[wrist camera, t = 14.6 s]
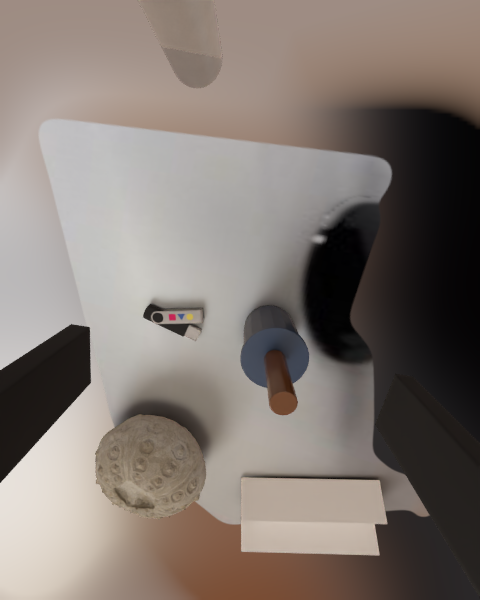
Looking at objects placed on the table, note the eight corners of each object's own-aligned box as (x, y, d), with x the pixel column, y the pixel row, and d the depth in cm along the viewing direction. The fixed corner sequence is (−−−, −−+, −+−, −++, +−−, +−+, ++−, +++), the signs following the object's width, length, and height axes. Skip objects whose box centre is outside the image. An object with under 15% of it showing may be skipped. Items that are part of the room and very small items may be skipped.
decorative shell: (222, 479, 48) (205, 546, 39) (135, 473, 53) (102, 533, 44) (199, 400, 42) (173, 458, 33) (103, 401, 46) (56, 453, 37)
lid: (246, 318, 32) (247, 357, 23) (314, 329, 32) (339, 372, 24) (235, 377, 35) (232, 432, 26) (298, 387, 35) (316, 445, 26)
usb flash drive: (144, 315, 41) (141, 318, 40) (157, 285, 39) (154, 287, 38) (196, 340, 42) (194, 343, 41) (210, 311, 40) (209, 314, 39)
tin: (249, 301, 40) (249, 323, 32) (298, 309, 40) (311, 333, 32) (240, 346, 42) (239, 377, 34) (287, 353, 42) (297, 386, 34)
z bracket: (241, 473, 55) (241, 477, 49) (365, 475, 54) (379, 480, 49) (241, 550, 50) (240, 565, 44) (378, 554, 49) (395, 570, 43)
